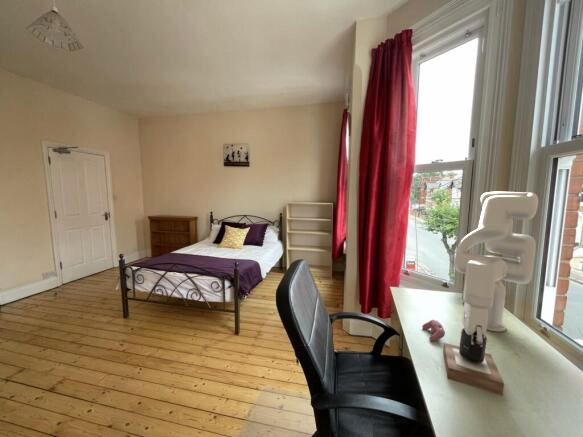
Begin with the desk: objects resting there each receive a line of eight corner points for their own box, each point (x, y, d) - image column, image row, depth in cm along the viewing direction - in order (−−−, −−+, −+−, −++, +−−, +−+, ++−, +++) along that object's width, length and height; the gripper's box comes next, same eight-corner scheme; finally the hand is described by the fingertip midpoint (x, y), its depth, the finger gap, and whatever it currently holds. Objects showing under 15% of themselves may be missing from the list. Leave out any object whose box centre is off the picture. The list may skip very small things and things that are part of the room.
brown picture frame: (443, 352, 91) (444, 342, 91) (489, 364, 85) (491, 353, 84) (447, 378, 79) (448, 367, 78) (502, 395, 73) (504, 382, 72)
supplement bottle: (462, 361, 79) (465, 327, 78) (456, 348, 86) (459, 316, 84) (487, 366, 77) (492, 332, 75) (479, 352, 83) (483, 320, 82)
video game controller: (439, 346, 97) (449, 333, 95) (428, 340, 97) (438, 327, 96) (430, 331, 106) (439, 319, 105) (420, 326, 107) (429, 314, 105)
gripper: (459, 286, 88) (454, 331, 90) (468, 308, 72) (463, 361, 75) (485, 290, 84) (479, 337, 87) (500, 314, 69) (493, 370, 71)
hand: (472, 348), depth 81 cm, fingers closed on supplement bottle, 6 cm apart
